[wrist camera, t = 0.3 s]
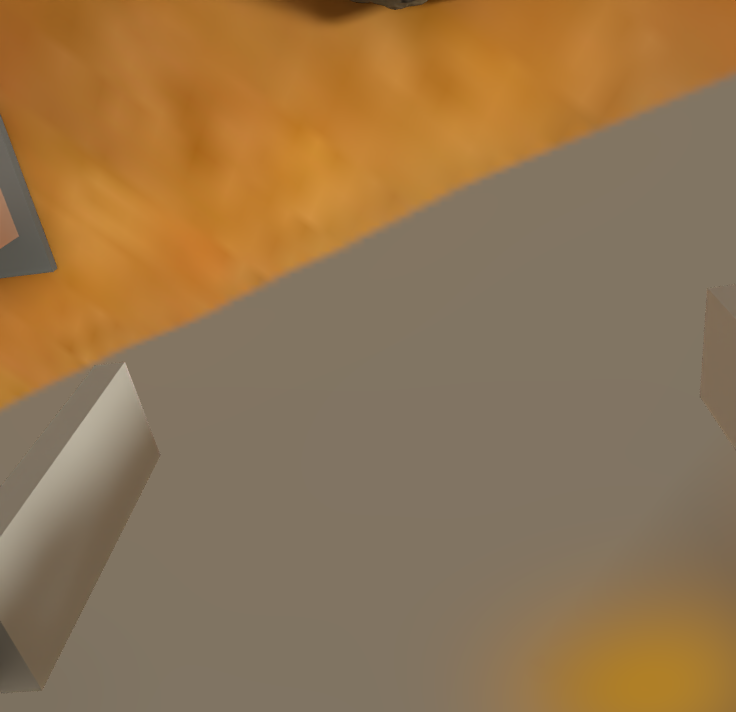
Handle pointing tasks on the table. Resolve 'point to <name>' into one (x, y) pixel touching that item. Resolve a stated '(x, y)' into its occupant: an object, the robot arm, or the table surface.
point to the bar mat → (21, 220)
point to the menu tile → (6, 224)
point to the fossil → (394, 3)
